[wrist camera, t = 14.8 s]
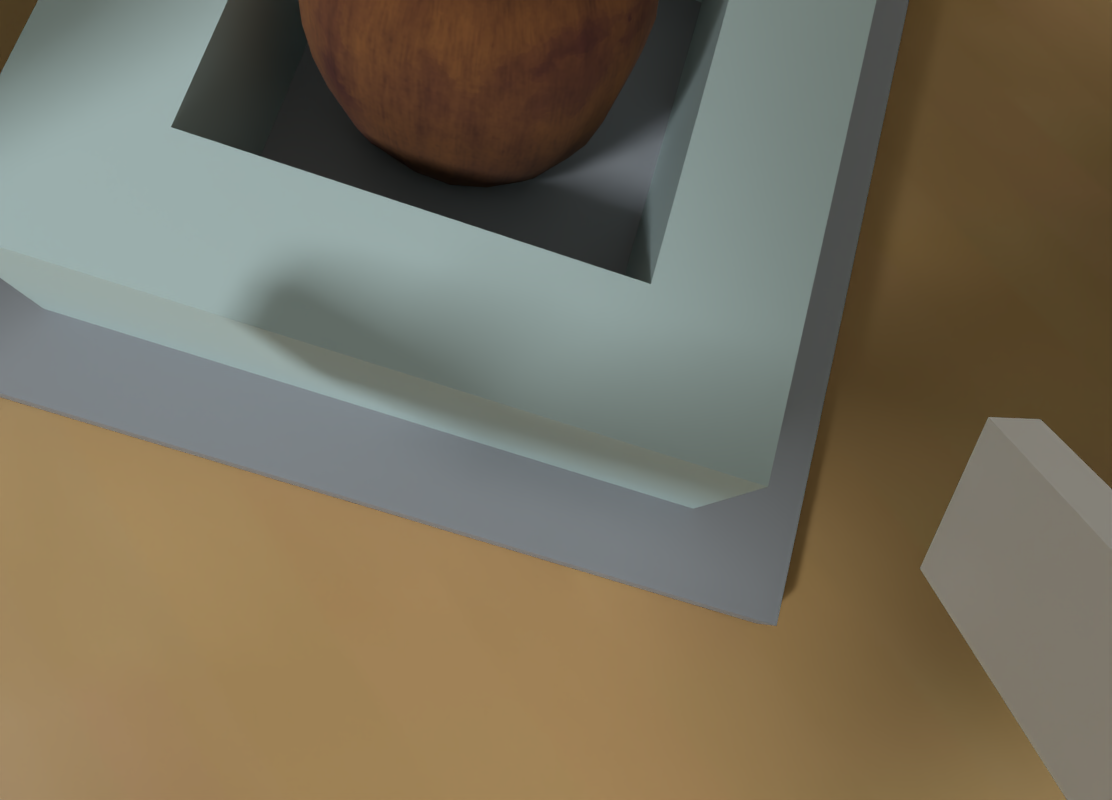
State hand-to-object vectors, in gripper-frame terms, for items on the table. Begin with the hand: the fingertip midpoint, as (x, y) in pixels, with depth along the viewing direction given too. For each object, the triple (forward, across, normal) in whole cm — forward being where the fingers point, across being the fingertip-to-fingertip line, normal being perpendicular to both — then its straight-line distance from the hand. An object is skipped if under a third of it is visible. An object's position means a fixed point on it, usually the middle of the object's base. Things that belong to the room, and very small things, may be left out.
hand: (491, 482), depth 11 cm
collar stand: (+14, 0, +1) cm, 14 cm away
